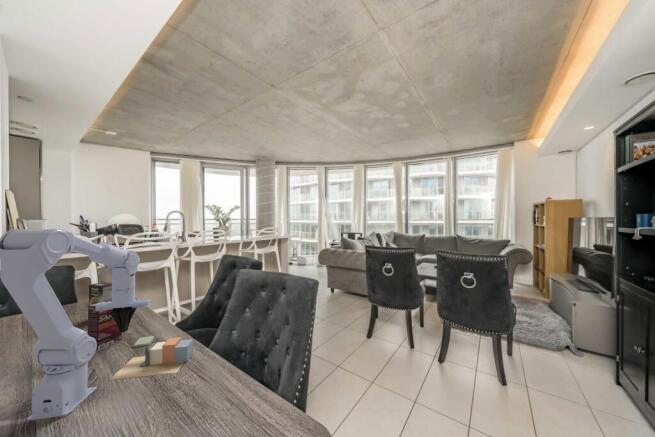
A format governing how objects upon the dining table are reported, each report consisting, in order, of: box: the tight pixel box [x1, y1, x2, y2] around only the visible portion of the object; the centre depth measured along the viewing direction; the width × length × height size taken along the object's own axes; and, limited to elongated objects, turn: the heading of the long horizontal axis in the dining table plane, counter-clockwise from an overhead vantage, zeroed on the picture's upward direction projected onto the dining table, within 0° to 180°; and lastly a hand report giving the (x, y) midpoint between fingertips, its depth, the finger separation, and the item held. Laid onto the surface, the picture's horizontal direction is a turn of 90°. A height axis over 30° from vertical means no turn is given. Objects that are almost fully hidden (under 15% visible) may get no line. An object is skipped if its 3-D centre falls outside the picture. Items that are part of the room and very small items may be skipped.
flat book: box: [133, 335, 155, 348], centre depth 91 cm, size 6×4×2 cm
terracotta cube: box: [162, 336, 182, 363], centre depth 80 cm, size 5×4×6 cm
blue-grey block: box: [175, 338, 194, 362], centre depth 80 cm, size 5×4×4 cm
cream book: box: [149, 341, 166, 365], centre depth 79 cm, size 5×4×4 cm
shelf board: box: [108, 355, 186, 381], centre depth 76 cm, size 12×18×1 cm
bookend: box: [140, 337, 159, 367], centre depth 78 cm, size 6×2×6 cm, turn 11°
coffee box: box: [88, 281, 112, 306], centre depth 116 cm, size 9×6×16 cm
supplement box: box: [86, 299, 123, 354], centre depth 89 cm, size 9×5×16 cm, turn 168°
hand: (123, 331), depth 79 cm, fingers closed
